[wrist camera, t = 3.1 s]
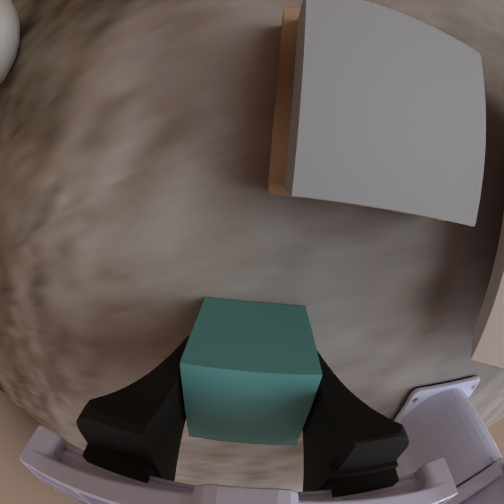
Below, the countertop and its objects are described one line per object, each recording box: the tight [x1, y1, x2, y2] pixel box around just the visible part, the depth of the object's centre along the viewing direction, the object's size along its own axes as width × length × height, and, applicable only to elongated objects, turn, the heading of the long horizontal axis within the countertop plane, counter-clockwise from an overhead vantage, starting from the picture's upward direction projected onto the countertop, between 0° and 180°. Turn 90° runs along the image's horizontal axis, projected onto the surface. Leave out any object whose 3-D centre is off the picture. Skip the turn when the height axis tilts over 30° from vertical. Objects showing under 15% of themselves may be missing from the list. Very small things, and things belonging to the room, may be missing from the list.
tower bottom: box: [267, 6, 446, 221], centre depth 10 cm, size 8×8×2 cm
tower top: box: [284, 0, 486, 227], centre depth 7 cm, size 7×7×2 cm
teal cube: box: [180, 297, 322, 445], centre depth 12 cm, size 5×5×5 cm
